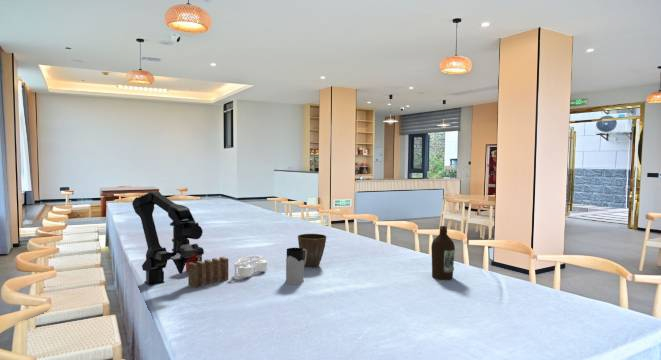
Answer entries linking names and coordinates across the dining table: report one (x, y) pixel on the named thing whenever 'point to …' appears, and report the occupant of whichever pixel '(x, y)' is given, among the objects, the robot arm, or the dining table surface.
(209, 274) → the tile
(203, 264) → the tile
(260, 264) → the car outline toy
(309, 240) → the plant pot
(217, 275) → the tile
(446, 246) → the olive oil
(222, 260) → the tile
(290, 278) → the tall mug
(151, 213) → the robot arm
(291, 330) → the dining table surface
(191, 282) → the tile
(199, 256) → the canned food
